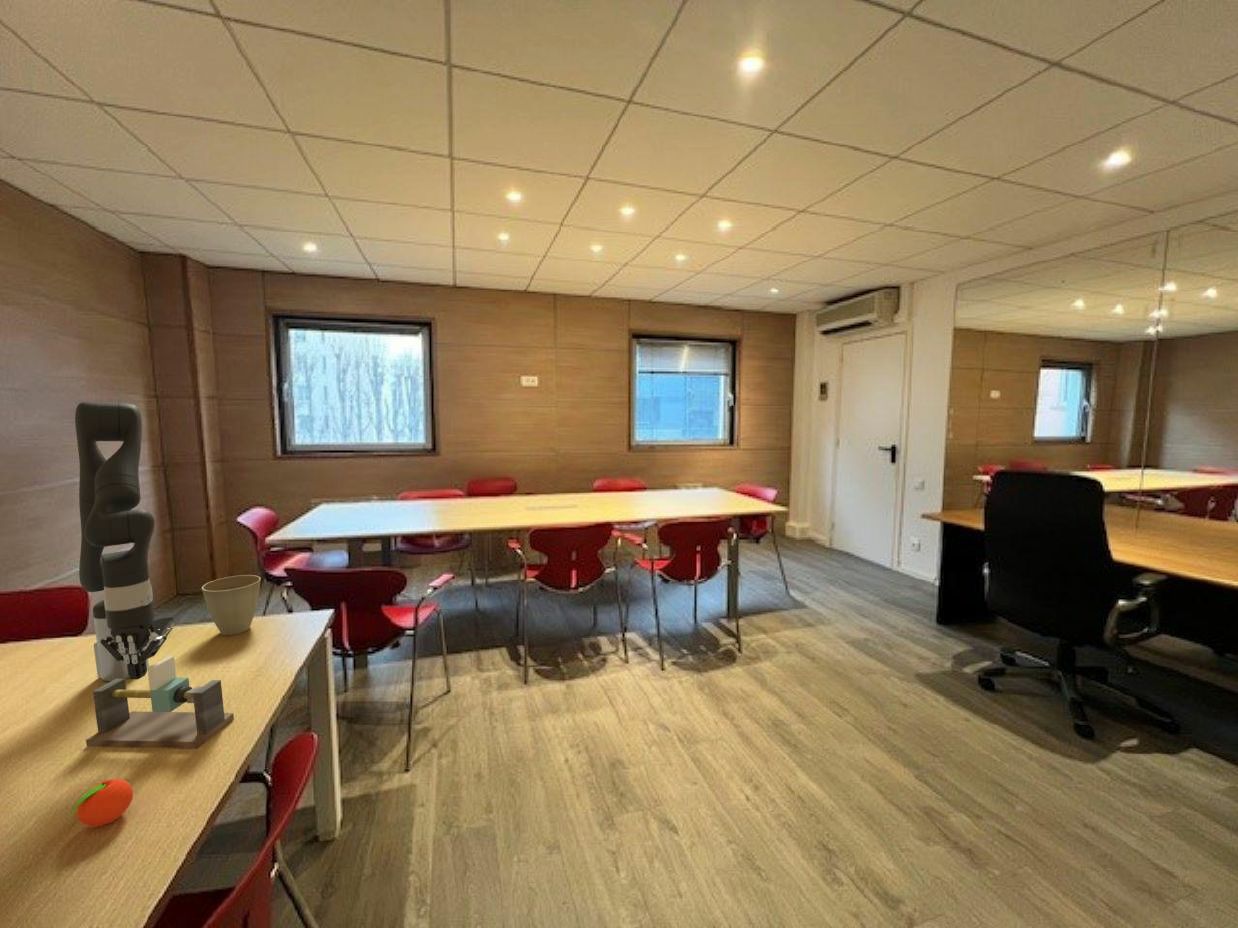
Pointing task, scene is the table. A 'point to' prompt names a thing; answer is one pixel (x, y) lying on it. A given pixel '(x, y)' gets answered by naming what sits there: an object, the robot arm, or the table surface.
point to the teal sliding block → (164, 685)
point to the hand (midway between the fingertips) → (138, 677)
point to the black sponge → (163, 625)
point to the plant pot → (232, 602)
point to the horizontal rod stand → (157, 718)
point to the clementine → (104, 802)
